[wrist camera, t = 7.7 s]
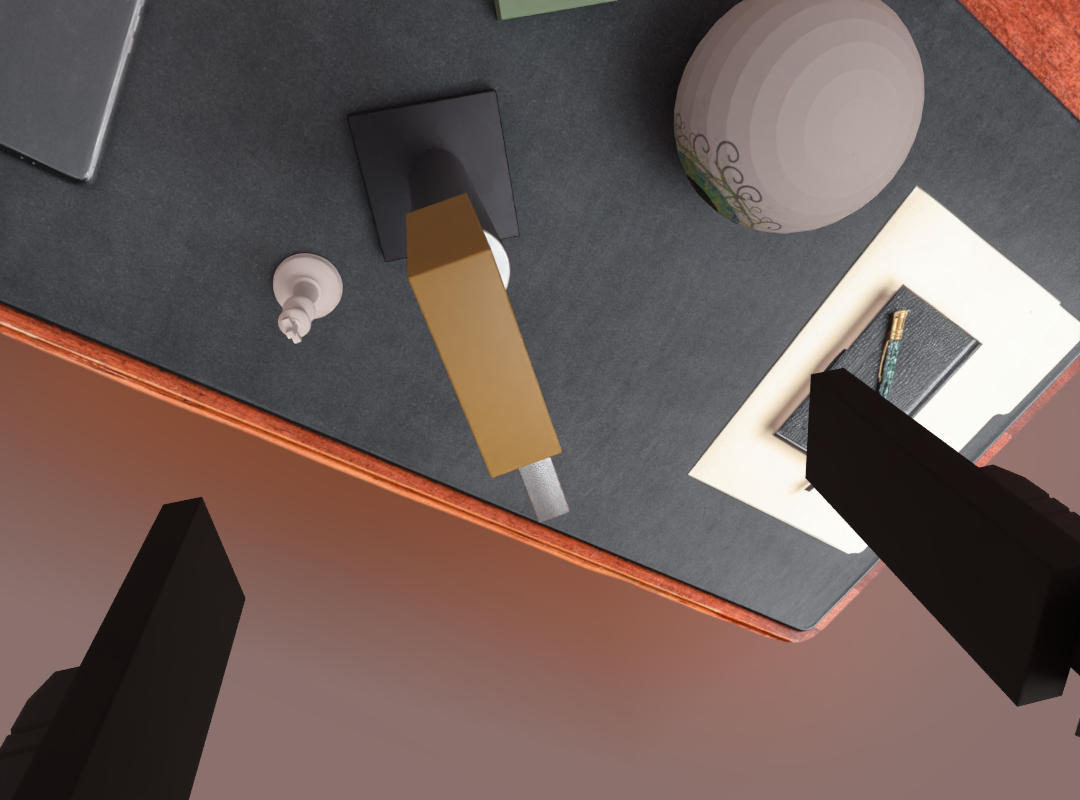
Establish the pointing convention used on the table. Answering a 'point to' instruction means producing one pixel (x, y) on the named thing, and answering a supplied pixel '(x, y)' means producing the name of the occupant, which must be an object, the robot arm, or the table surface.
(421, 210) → the tap handle
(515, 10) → the button box
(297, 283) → the chess piece
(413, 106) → the faucet body
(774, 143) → the decorative object
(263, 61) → the table surface
